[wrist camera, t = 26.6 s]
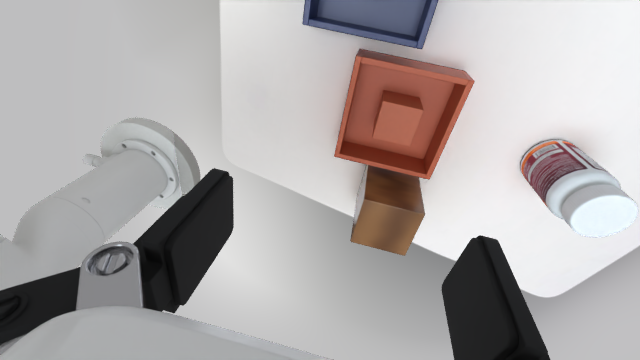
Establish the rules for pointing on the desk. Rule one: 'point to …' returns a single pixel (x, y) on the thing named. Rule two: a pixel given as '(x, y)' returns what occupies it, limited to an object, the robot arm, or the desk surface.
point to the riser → (387, 210)
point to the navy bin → (374, 18)
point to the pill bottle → (578, 189)
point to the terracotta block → (397, 118)
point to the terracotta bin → (410, 79)
